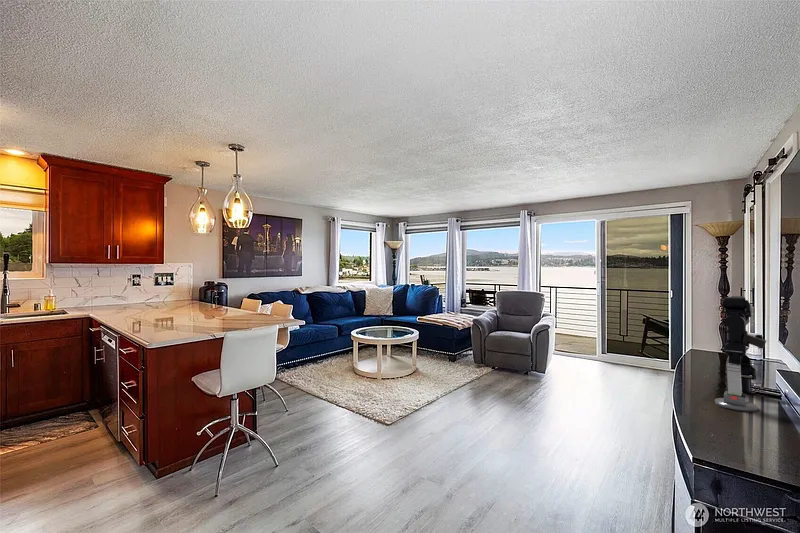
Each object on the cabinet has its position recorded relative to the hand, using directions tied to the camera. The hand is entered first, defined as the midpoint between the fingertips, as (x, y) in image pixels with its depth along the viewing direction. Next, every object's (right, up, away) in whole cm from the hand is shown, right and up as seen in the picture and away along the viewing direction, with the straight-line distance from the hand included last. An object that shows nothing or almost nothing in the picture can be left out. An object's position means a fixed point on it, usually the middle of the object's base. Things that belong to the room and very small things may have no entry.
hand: (738, 366), depth 147 cm
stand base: (-9, -13, -9) cm, 18 cm away
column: (-9, -8, -9) cm, 15 cm away
